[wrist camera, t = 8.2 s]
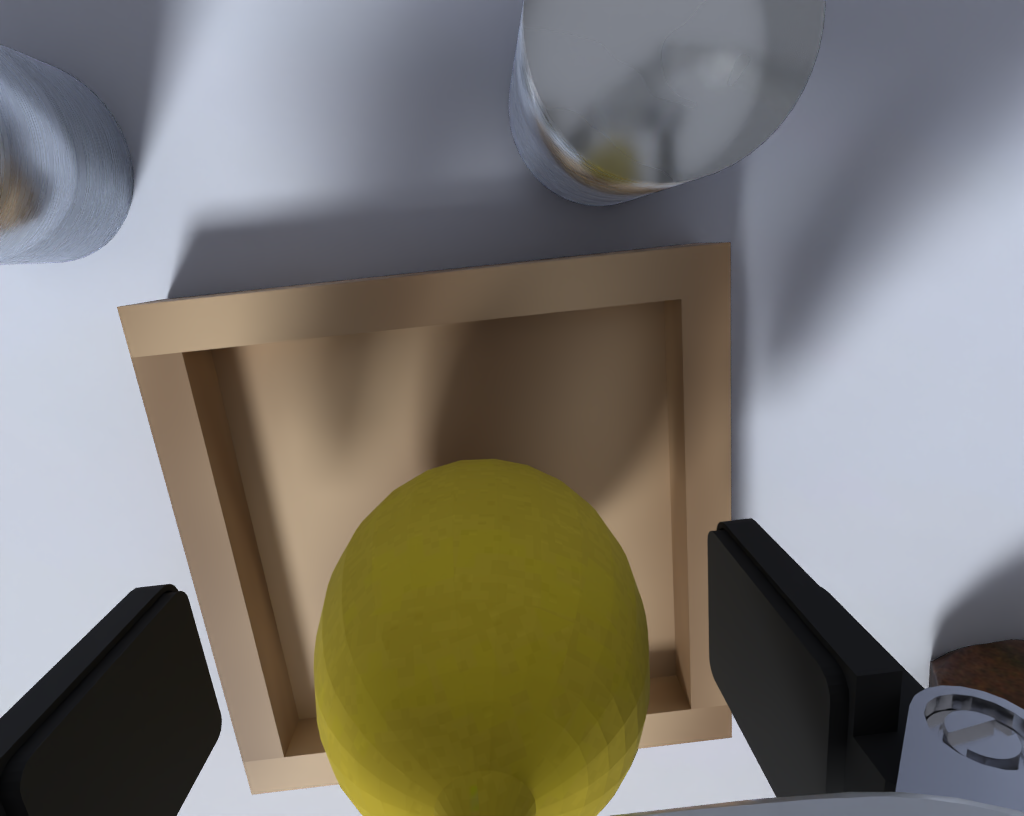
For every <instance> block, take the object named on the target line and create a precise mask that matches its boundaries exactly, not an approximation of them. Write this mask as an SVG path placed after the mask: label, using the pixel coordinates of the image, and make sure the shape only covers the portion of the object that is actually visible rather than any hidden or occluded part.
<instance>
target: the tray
mask: <svg viewBox="0 0 1024 816" xmlns="http://www.w3.org/2000/svg"><path fill="white" fill-rule="evenodd" d="M117 309H118V312H119V316H120V320H121V323H122V327H123V331H124V334H125V338H126V341H127V345H128V349H129V352H130V356H131V359H132V363H133V367H134V370H135V374H136V378H137V381H138V385H139V388H140V392H141V396H142V399H143V403H144V406H145V410H146V414H147V417H148V421H149V425H150V428H151V432H152V435H153V439H154V443H155V446H156V450H157V453H158V457H159V461H160V464H161V468H162V472H163V475H164V479H165V482H166V486H167V490H168V493H169V497H170V500H171V504H172V508H173V511H174V515H175V519H176V522H177V526H178V529H179V533H180V537H181V540H182V544H183V547H184V551H185V555H186V558H187V562H188V566H189V569H190V573H191V576H192V580H193V584H194V587H195V591H196V594H197V598H198V602H199V605H200V609H201V613H202V616H203V620H204V623H205V627H206V631H207V634H208V638H209V641H210V645H211V649H212V652H213V656H214V660H215V663H216V667H217V670H218V674H219V678H220V681H221V685H222V688H223V692H224V696H225V699H226V703H227V707H228V710H229V714H230V717H231V721H232V725H233V728H234V732H235V735H236V739H237V743H238V746H239V750H240V754H241V757H242V761H243V764H244V768H245V772H246V775H247V779H248V782H249V786H250V790H251V793H252V795H253V794H261V793H270V792H278V791H286V790H295V789H303V788H312V787H320V786H328V785H337V784H339V783H338V781H337V779H336V777H335V774H334V772H333V770H332V767H331V765H330V762H329V760H328V757H327V754H326V752H325V749H324V747H323V744H322V742H321V739H320V734H319V729H318V724H317V715H316V700H315V685H314V649H315V642H316V635H317V630H318V626H319V622H320V617H321V613H322V609H323V604H324V600H325V596H326V591H327V587H328V584H329V581H330V578H331V575H332V572H333V571H334V569H335V567H336V565H337V563H338V561H339V559H340V557H341V556H342V554H343V552H344V550H345V549H346V547H347V545H348V543H349V541H350V540H351V538H352V536H353V534H354V533H355V531H356V529H357V528H358V527H359V525H360V524H361V522H362V521H363V520H364V519H365V518H366V517H367V516H368V515H369V514H370V513H371V512H372V511H373V510H374V509H375V508H376V507H377V506H378V505H379V504H380V503H381V502H382V501H383V500H384V499H385V498H386V497H387V496H388V495H389V494H390V493H391V492H392V491H393V490H395V489H397V488H398V487H400V486H402V485H403V484H405V483H407V482H408V481H410V480H412V479H413V478H415V477H417V476H419V475H420V474H422V473H424V472H425V471H427V470H430V469H433V468H436V467H440V466H443V465H446V464H450V463H453V462H456V461H460V460H478V459H498V460H504V461H509V462H514V463H520V464H525V465H529V466H531V467H533V468H535V469H537V470H540V471H542V472H544V473H546V474H548V475H551V476H553V477H555V478H557V479H559V480H561V481H562V482H564V483H565V484H566V485H567V486H568V487H570V488H571V489H572V490H573V491H574V492H576V493H577V494H578V495H579V496H581V497H582V498H583V499H584V500H585V501H587V502H588V503H589V504H590V505H591V506H592V507H593V508H594V509H595V510H596V511H597V513H598V514H599V516H600V517H601V518H602V520H603V521H604V523H605V524H606V525H607V527H608V528H609V530H610V531H611V532H612V534H613V535H614V537H615V538H616V540H617V541H618V542H619V544H620V545H621V547H622V549H623V551H624V552H625V554H626V556H627V559H628V562H629V565H630V567H631V570H632V573H633V576H634V579H635V582H636V584H637V587H638V590H639V593H640V596H641V599H642V601H643V605H644V610H645V614H646V620H647V627H648V641H649V665H650V698H649V705H648V710H647V715H646V719H645V723H644V727H643V731H642V735H641V739H640V743H639V747H638V749H639V748H648V747H656V746H664V745H673V744H681V743H690V742H698V741H706V740H715V739H723V738H732V712H731V710H730V708H729V707H728V705H727V703H726V701H725V699H724V697H723V695H722V693H721V691H720V690H719V688H718V686H717V684H716V682H715V680H714V678H713V675H712V671H711V667H710V662H709V617H708V546H707V539H708V533H709V532H710V531H716V529H717V525H718V523H719V522H723V521H731V242H721V243H693V244H684V245H674V246H665V247H655V248H646V249H636V250H627V251H617V252H608V253H598V254H589V255H579V256H570V257H560V258H551V259H541V260H532V261H522V262H513V263H503V264H494V265H484V266H475V267H465V268H456V269H446V270H437V271H427V272H418V273H408V274H399V275H389V276H380V277H370V278H361V279H351V280H342V281H332V282H323V283H313V284H304V285H294V286H285V287H275V288H266V289H256V290H247V291H237V292H228V293H218V294H209V295H199V296H190V297H180V298H171V299H163V300H156V301H150V302H144V303H138V304H132V305H126V306H120V307H117Z"/></svg>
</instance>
